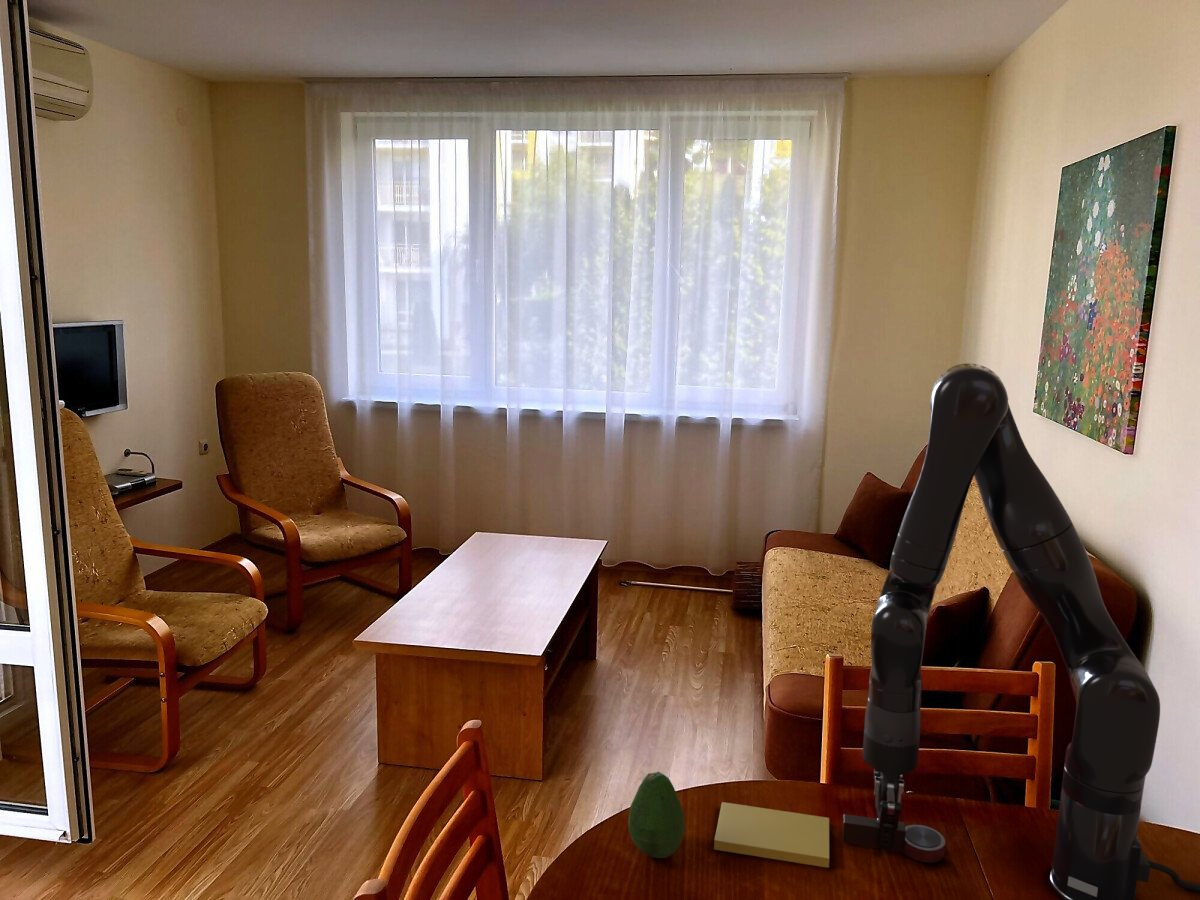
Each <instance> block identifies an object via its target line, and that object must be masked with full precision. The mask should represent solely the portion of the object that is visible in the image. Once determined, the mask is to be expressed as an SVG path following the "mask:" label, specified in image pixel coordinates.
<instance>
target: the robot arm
mask: <svg viewBox="0 0 1200 900" xmlns="http://www.w3.org/2000/svg"><path fill="white" fill-rule="evenodd" d="M929 402H930V403H929V404H930V411H931V415H930V425H929V434H928V441H927V447H926V452H925V457H924V461H923V465H922V468H921V471H920V474H919V477H918V479H917V483H916V485H915V488H914V490H913V493H912V495H911V498H910V500H909V502H908V505H907V508H906V510H905V512H904V516H903V518H902V521H901V524H900V527H899V530H898V533H897V536H896V540H895V543H894V547H893V549H892V553H891V556H890V557H891V558H890V564H889V570H888V572H887V575H886V577H885V580H884V582H883V585H882V589H881V591H880V594H879V597H878V600H877V602H876V604H875V605H876V606H875V608H874V612H873V616H872V620H871V626H870V627H871V628H870V660H871V667H870V672H869V677H868V679H869V680H868V693H867V695H868V696H867V697H868V698H867V703H866V707H865V711H864V725H863V726H864V727H863V738H862V739H863V741H862V742H863V743H862V758H863V761H864V763H866V764H867V765H868V766H869V767H871V768H872V769H873V773H872V776H873V797H874V808H875V810H876V818H875V819H877V822H878V829H877V847H876V848H878V849H881V850H886V851H891V850H892V849H893V840H894V830H895V831H897V828H898V822H900V815H901V811H902V797H903V796H902V795H903V794H904V792H905V780H904V779H903V778H904V774H909V773H912V772H913V771H915V770H916V769H917V767H918V765H919V754H920V744H921V743H920V742H921V730H922V713H921V705H922V703H921V702H922V694H923V693H922V692H923V673H922V665H923V657H924V650H925V643H926V634H927V626H928V620H929V615H930V611H931V608H932V604H933V600H934V597H935V594H936V589H937V587H938V585H939V583H940V582H941V580H942V578H943V576H944V574H945V571H946V568H947V565H948V563H949V562H948V561H949V558H950V556H951V552H952V550H953V546H954V544H955V540H956V537H957V532H958V530H959V526H960V521H961V518H962V514H963V511H964V507H965V503H966V500H967V497H968V493H969V490H970V488H971V485H972V482H973V479H974V480H975V482H976V485H977V488H978V493H979V494H980V498H981V501H982V505H983V507H984V511H985V514H986V516H987V520H988V522H989V525H990V527H991V530H992V532H993V536H994V537H995V539H996V540H995V541H996V542H997V545H998V546H999V548H1000V550H1001V553H1002V554H1003V556H1004V559H1005V560H1006V562H1007V565H1008V567H1009V568H1010V570H1011V572H1012V574H1013V576H1014V578H1015V580H1016V581H1017V583H1018V584H1019V586H1020V587H1021V589H1022V591H1023V592H1024V593H1025V595H1026V596H1027V598H1028V599H1029V601H1030V602H1031V603H1032V605H1033V606H1034V607H1035V609H1036V610H1037V612H1038V613H1039V614H1040V615H1041V616H1042V618H1043V619H1044V621H1045V622H1046V624H1047V626H1048V627H1049V629H1050V631H1051V633H1052V635H1053V637H1054V639H1055V642H1056V645H1057V647H1058V650H1059V653H1060V655H1061V657H1062V660H1063V663H1064V666H1065V668H1066V671H1067V675H1068V678H1069V681H1070V686H1071V690H1072V693H1073V696H1074V699H1075V702H1076V703H1075V715H1074V723H1073V731H1072V737H1071V742H1070V743H1069V744H1068V745H1067V747H1066V750H1065V756H1064V757H1065V758H1064V764H1063V765H1064V766H1063V772H1062V773H1063V774H1062V783H1061V790H1060V799H1059V807H1058V815H1057V824H1056V831H1055V840H1054V849H1053V857H1052V863H1051V871H1050V875H1049V883H1050V885H1051V888H1052V889H1053V891H1054V892H1055V893H1056V894H1057V895H1058V896H1059V897H1060V898H1062V899H1063V900H1136V893H1137V885H1138V882H1143V883H1149V878H1150V872H1151V869H1153V870H1156V871H1159V872H1162V873H1164V874H1166V875H1168V876H1170V878H1171V880H1172V882H1173V883H1174V885H1176V886H1177V887H1180V888H1183V889H1185V890H1190V891H1194V892H1200V884H1195V883H1191V882H1188V881H1185V880H1182V879H1181V878H1180V877H1179V875H1178V873H1177V872H1176V871H1175V870H1174V869H1172V868H1171V867H1168V866H1166V865H1164V864H1161V863H1158V862H1155V861H1152V860H1148V859H1147V857H1146V855H1145V853H1144V852H1143V850H1142V849H1143V845H1142V843H1141V841H1140V840H1139V838H1138V833H1139V826H1140V818H1141V812H1142V811H1141V810H1142V804H1143V795H1144V789H1145V783H1146V778H1147V777H1146V776H1147V775H1148V773H1149V772H1150V770H1151V767H1152V765H1153V761H1154V755H1155V750H1156V743H1157V737H1158V733H1159V732H1158V731H1159V727H1160V726H1159V725H1160V719H1161V701H1160V695H1159V693H1158V690H1157V689H1156V687H1155V685H1154V683H1153V682H1152V679H1151V678H1150V676H1149V674H1148V672H1147V671H1146V669H1145V667H1144V666H1143V665H1142V663H1141V662H1140V660H1139V659H1138V658H1137V656H1136V655H1135V653H1134V652H1133V650H1132V649H1131V648H1130V646H1129V644H1128V643H1127V642H1126V640H1125V638H1124V637H1123V635H1122V634H1121V632H1120V631H1119V629H1118V627H1117V626H1116V624H1115V622H1114V621H1113V619H1112V617H1111V615H1110V613H1109V611H1108V610H1107V607H1106V606H1105V602H1104V600H1103V597H1102V594H1101V589H1100V586H1099V583H1098V580H1097V575H1096V573H1095V571H1094V568H1093V564H1092V561H1091V560H1090V559H1091V558H1090V556H1089V554H1088V552H1087V550H1086V547H1085V545H1084V543H1083V541H1082V539H1081V537H1080V535H1079V533H1078V531H1077V529H1076V527H1075V524H1074V522H1073V521H1072V519H1071V517H1070V515H1069V513H1068V512H1067V510H1066V508H1065V507H1064V505H1063V504H1062V502H1061V500H1060V498H1059V497H1058V495H1057V493H1056V492H1055V490H1054V488H1053V487H1052V485H1051V484H1050V482H1049V480H1047V478H1046V476H1045V475H1044V474H1043V472H1042V471H1041V469H1040V468H1039V466H1038V465H1037V463H1036V462H1035V461H1034V459H1033V457H1032V455H1031V454H1030V452H1029V450H1028V448H1027V447H1026V444H1025V441H1024V440H1023V438H1022V436H1021V433H1020V430H1019V428H1018V425H1017V423H1016V421H1015V418H1014V415H1013V413H1012V410H1011V407H1010V404H1009V396H1008V392H1007V389H1006V386H1005V385H1004V383H1003V381H1002V379H1001V378H1000V377H999V376H998V375H997V374H996V372H995V371H993V370H991V369H990V368H988V367H987V366H984V365H982V364H977V363H971V362H968V363H967V362H964V363H959V364H956V365H952V366H950V367H949V368H948V369H946V370H944V372H942V373H941V374H940V375H939V376H938V378H937V379H936V381H935V382H934V385H933V387H932V388H931V393H930V401H929ZM892 851H893V850H892Z"/></svg>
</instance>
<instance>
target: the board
mask: <svg viewBox="0 0 1200 900" xmlns="http://www.w3.org/2000/svg"><path fill="white" fill-rule="evenodd" d="M713 849H714V851H721V852H727V853H734V854H739V855H746V856H752V857H759V858H764V859H772V860H778V861H782V862H790V863H795V864H801V865H808V866H815V867H821V868H828V869H829V868H830V817H825V816H819V815H812V814H805V813H799V812H794V811H793V812H792V811H785V810H779V809H772V808H766V807H759V806H752V805H745V804H738V803H731V802H724V801H722V802H721V805H720V810H719V815H718V821H717V826H716V831H715V835H714V843H713Z"/></svg>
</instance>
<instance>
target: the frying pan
mask: <svg viewBox="0 0 1200 900" xmlns="http://www.w3.org/2000/svg"><path fill="white" fill-rule="evenodd" d="M842 820H843V821H842V843H845V844H851V845H858V846H865V847H871V848H878V847H877V829H878V822H877V819H876V818H875V817H868V816H860V815H854V814H853V815H852V814H845V813H843V819H842ZM945 850H946V839H945V836H943V834H942V833H941V832H939V830H936V829H934V828H932V827H929V826H926V825H922V824H910V825H906V822H903V821H898V828H897V831H895V830H894V840H893V849H892V851H897V852H898V851H899V852H902V853H903V854H904V855H906V856H907V857H908V858H910V859H912V860H914V861H917V862H922V863H927V864H929V863H930V864H931V863H937V862H940V861H941V860H943V859H944V858H945Z"/></svg>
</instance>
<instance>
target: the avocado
mask: <svg viewBox="0 0 1200 900" xmlns="http://www.w3.org/2000/svg"><path fill="white" fill-rule="evenodd" d="M628 814H629V815H628V821H627V824H628V832H629V835H630V838H631V840H632V842H633V843H634V845H635V847H636V849H638V851H640V852H641V853H643V854H645V855H647V856H649V857H651V858H653V859H667V858H668V857H670V856H672V855H674V854H675V853H676V852H677V851H678V849H679V847H680V846H681V844H682V841H683V837H684V835H685V831H686V822H685V814H684V810H683V807H682V804H681V801H680V798H679V796H678V794H677V792H676V788H675V787H674V785H673V783H672V781H671V780H670V778H669V777H668V776H667V775H665V774H664V773H662V772H661V771H656V772H651V773H647V774H646V776H645V777H644V778H643V780H642V781H641V783H640V785H639V786H638V789H637V790H636V793H635V795H634V797H633V799H632V802H631V804H630V806H629V813H628Z"/></svg>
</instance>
